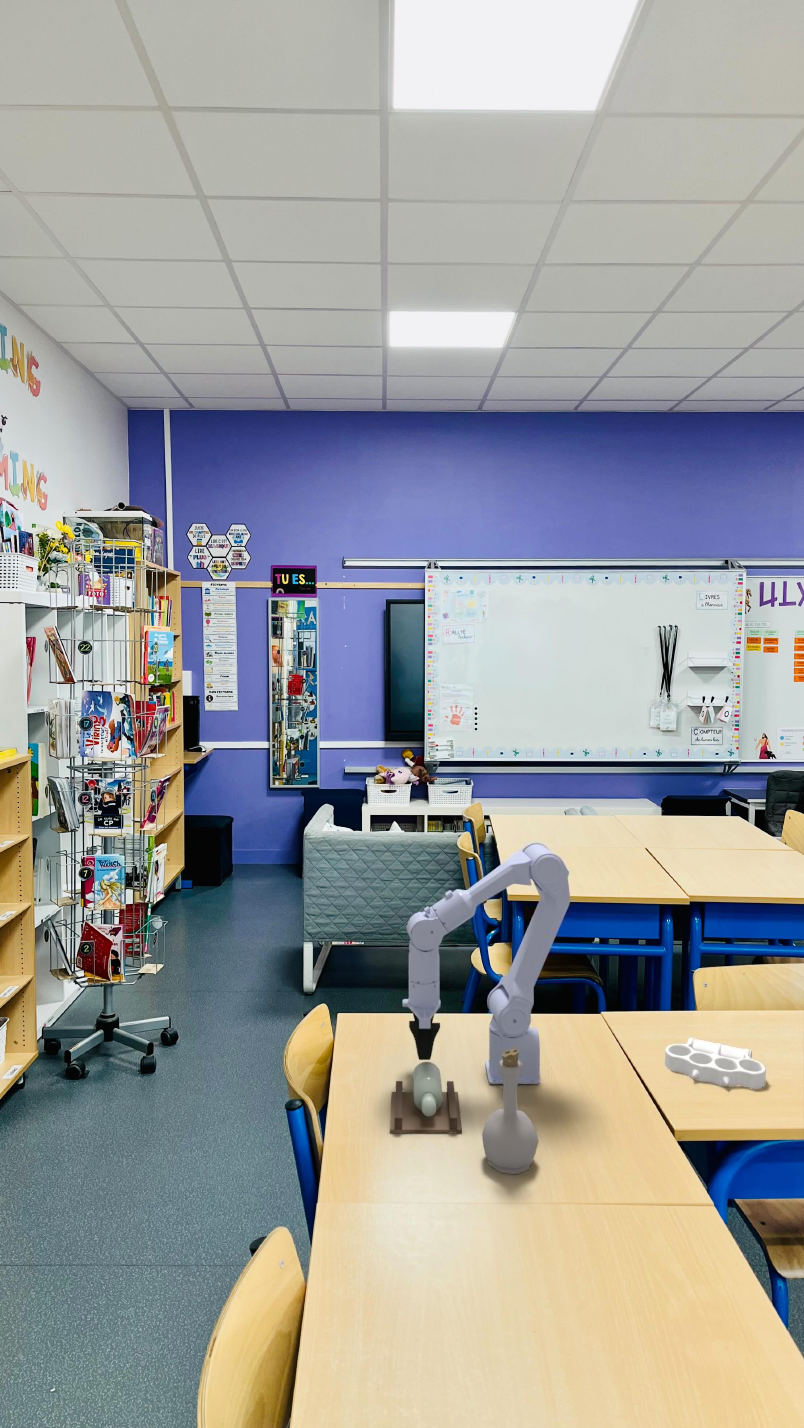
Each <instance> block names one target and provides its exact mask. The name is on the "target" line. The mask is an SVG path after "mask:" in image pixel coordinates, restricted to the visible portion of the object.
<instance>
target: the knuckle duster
mask: <svg viewBox="0 0 804 1428" xmlns="http://www.w3.org/2000/svg"><path fill="white" fill-rule="evenodd" d="M752 1052H753V1051H752V1050H750V1049H749V1048H739V1047H735V1046H731V1045H726V1044H723V1043H720V1042H718V1043H716V1042H712V1041H707V1040H703V1039H697V1038H695V1037H689V1038H688V1039H687V1042H686V1043H684V1044H682V1043H674V1044H669V1045H668V1046H666V1048H665V1050H664V1066H665V1068H667V1069H668V1070H670V1071H671V1072H673V1071H674V1072H673V1073H680V1074H683V1075H686V1076H687V1077H689V1078H690V1079H693V1080H696V1081H699V1082H700V1083H701V1082H703V1083H710V1084H714V1085H717V1086H719V1087H726V1086H729V1087H728V1088H734V1087H733V1086H735V1087H738V1086H737V1085H741V1086H746V1087H749V1088H748V1089H750V1088H752V1089H751V1090H759V1089H758V1088H760V1089H763V1088H764V1087H765V1086H766V1078H767V1076H766V1075H767V1074H766V1073H767V1068H766V1067H765V1065H764V1064H763V1063H762V1062H760V1061H758V1060H756V1059H753V1057H752V1056H753V1053H752ZM746 1087H745V1088H746ZM762 1087H763V1088H762Z"/></svg>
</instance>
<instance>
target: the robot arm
mask: <svg viewBox="0 0 804 1428" xmlns="http://www.w3.org/2000/svg"><path fill="white" fill-rule="evenodd" d="M569 875H570V871H569V870H568V868H567V866H566V864H565V863H564V861H563V860H562V858H561V856H559V855H558V854H556V853H554V852H553V851H552V850H550V848H548V846H546V845H545V844H544V843H541V842H530V843H529V844H527V845H525V846H524V847H522V849H518V850H517V851H515V852H513V854H512V855H510V856H509V857H508V858H507V859H506V860H505V861H503V863H501V864H499V866H497V867H496V868H495V869H493V870H492V871H491V872H489V873H488V874H487V875H485V876H483V877H482V878H481V879H480V880H478V881H477V882H475V883H474V884H473V885H472V886H470V887H469V888H468V889H467V890H465V889H459V888H457V889H455V890H453V891H452V890H450V889H449V890H448V891H447V892H444V895H445V897H443V898H442V899H440V900H439V901H437V902H436V903H434V904H433V905H432V906H430V907H429V906H426V907H425V908H423V910H424V911H422V912H421V911H419V912H416V913H414V914H413V915H411V916H410V918H409V920H408V921H407V924H406V925H405V928H406V932H407V935H408V936H409V945H408V949H409V952H408V998H404V999H402V1007H404V1008H409V1009H410V1011H411V1013H412V1015H413V1019H414V1020H409V1021H408V1028H409V1031H410V1032H411V1034H412V1036H413V1039H414V1042H415V1048H416V1054H417V1058H418V1060H419V1061H430V1060H431V1059H432V1058H431V1057H432V1054H433V1050H434V1049H433V1048H434V1043H435V1041H436V1040H435V1039H436V1037H437V1034H438V1033H439V1031H440V1029H441V1023H440V1022H434V1017H435V1015H436V1013H437V1012H438V1010H439V1009H440V1008H441V999H440V953H439V947H440V946H441V943H442V941H443V938H444V936H445V935H447V934H449V933H451V932H452V931H453V930H456V929H457V928H458V927H459V926H461V925H462V924H465V922H466V921H468V920H470V919H472V918H473V917H474V916H475V914H476V910H477V907H478V906H479V905H481V904H482V903H484V902H485V901H487V900H489V899H490V898H492V897H494V896H495V895H498V894H499V893H501V892H502V891H504V890H505V889H508V887H510V886H512V885H522V886H532V882H533V885H534V886H535V888H536V891H537V893H538V895H539V901H538V903H537V906H536V908H535V910H534V913H533V915H532V916H531V920H530V922H529V925H528V926H527V929H526V931H525V934H524V935H523V938H522V940H521V944H520V945H519V948H518V950H517V951H516V955H515V957H514V959H513V961H512V964H511V966H510V969H509V971H508V973H507V974H504V975H503V976H502V977H501V978H500V980H499V983H497V985H496V986H495V987H494V988H493V989H492V990H491V991H490V992H489V994H488V995H487V1000H486V1002H487V1008H488V1009H489V1011H490V1013H491V1014H492V1017H491V1020H490V1022H489V1027H488V1029H489V1036H488V1037H489V1038H488V1039H489V1041H488V1042H489V1045H488V1046H489V1049H488V1050H489V1051H488V1053H489V1054H488V1056H489V1057H488V1058H489V1059H488V1060H486V1061H485V1070H486V1074H487V1080H488V1083H489V1084H490V1085H503V1083H504V1078H503V1077H502V1075H501V1074H500V1068H499V1061H500V1060H502V1054H503V1053H504V1052H505V1051H507V1050H510V1049H518V1050H519V1054H518V1060H520V1061H521V1063H522V1071H521V1074H520V1076H519V1077H518V1078H517V1085H540V1084H541V1079H540V1077H541V1076H540V1074H541V1072H540V1070H541V1068H540V1065H541V1060H540V1059H541V1054H540V1053H541V1045H540V1035H539V1031H538V1028H536V1027H531V1021H532V1018H531V1017H532V1015H531V1013H532V1009H533V1006H534V1001H535V1000H534V998H535V997H534V994H535V993H534V992H535V991H534V987H535V985H536V982H537V980H538V978H539V976H540V973H541V971H542V969H543V966H544V964H545V961H546V960H547V957H548V954H549V953H550V950H551V948H552V946H553V943H554V941H555V938H556V936H557V934H558V931H559V929H560V927H561V925H562V923H563V920H564V917H565V915H566V912H567V910H568V909H569V906H570V903H571V893H570V886H569V885H570V884H569Z"/></svg>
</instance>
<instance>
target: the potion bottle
mask: <svg viewBox="0 0 804 1428" xmlns="http://www.w3.org/2000/svg"><path fill="white" fill-rule="evenodd" d="M518 1054H519V1050H518V1049H510V1050H507V1051H505V1052H504V1053H503V1054H502V1060H500V1061H499V1068H500V1074H501V1075H502V1077H503V1078H504V1083H503V1084H502V1085H503V1089H502V1090H503V1092H502V1093H503V1094H502V1095H503V1098H502V1099H503V1101H502V1102H503V1104H502V1105H503V1107H502V1108H499V1109H496V1111H494V1112H493V1113H491V1114H490V1116H489V1117H488V1118H487V1120H485V1121H486V1122H484V1126H483V1129H482V1134H481V1136H482V1146H483V1150H484V1154H485V1158H486V1159H487V1160H488V1165H489V1166H490V1167H491V1168H493V1169H494V1170H495V1171H496V1172H498V1173H501V1174H506V1175H507V1174H508V1175H519V1174H522V1173H524V1171H525V1172H527V1171H529V1169H530V1168H531V1164H532V1163H533V1160H534V1158H535V1155H536V1152H537V1148H538V1145H539V1137H538V1135H537V1134H538V1133H537V1129H536V1127H535V1126H534V1124H533V1122H532V1120H531V1118H529V1116H528V1115H527V1114H526V1113H525V1112H524V1111H521V1110H518V1084H517V1078H518V1077H519V1076H520V1074H521V1071H522V1063H521V1061H520V1060H518ZM521 1172H522V1173H521Z"/></svg>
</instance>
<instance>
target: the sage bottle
mask: <svg viewBox="0 0 804 1428" xmlns="http://www.w3.org/2000/svg"><path fill="white" fill-rule="evenodd" d="M441 1075H442V1074H441V1070H440V1068H439V1067H438V1066H437V1065H436V1064H435V1063H434V1062H431V1061H424V1062H421V1063H419V1064H417V1065H416V1066H415V1067H414V1070H413V1072H412V1079H413V1080H412V1083H413V1085H412V1086H413V1089H412V1090H413V1092H414V1103H415V1105H416V1106H417V1108H418V1109H419V1110H421V1111H422V1112H423V1114H424V1115H426V1116H432V1115H434V1114H435V1112H436V1110H437V1109H438V1108H439V1107H440V1106H441V1104H442V1101H443V1095H442V1092H443V1087H442V1078H441V1077H442V1076H441Z"/></svg>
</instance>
